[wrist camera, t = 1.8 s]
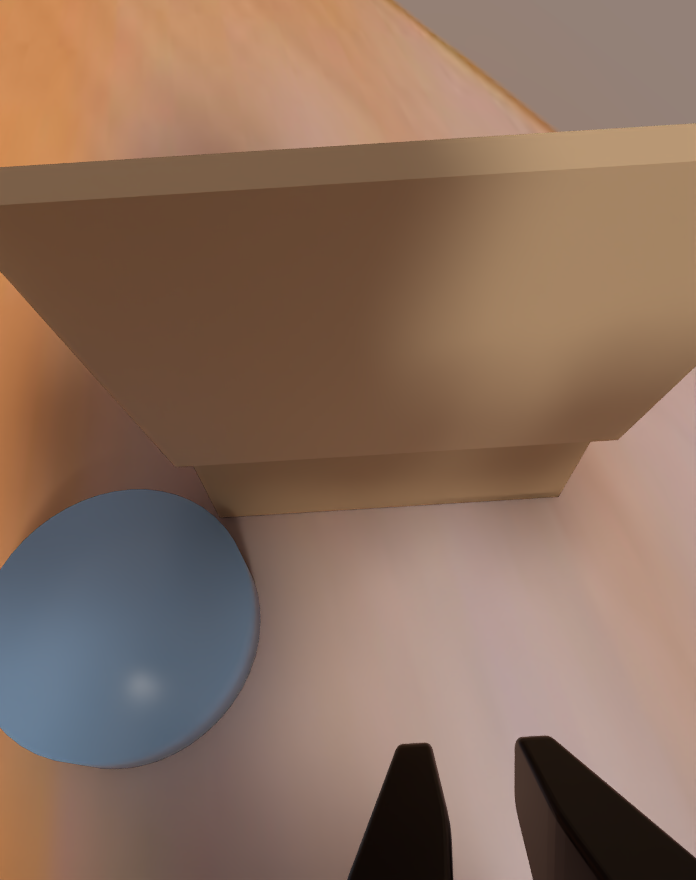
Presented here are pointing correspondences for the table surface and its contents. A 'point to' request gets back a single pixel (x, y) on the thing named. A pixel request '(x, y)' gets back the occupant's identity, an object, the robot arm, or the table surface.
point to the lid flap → (370, 289)
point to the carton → (390, 479)
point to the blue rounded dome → (123, 630)
